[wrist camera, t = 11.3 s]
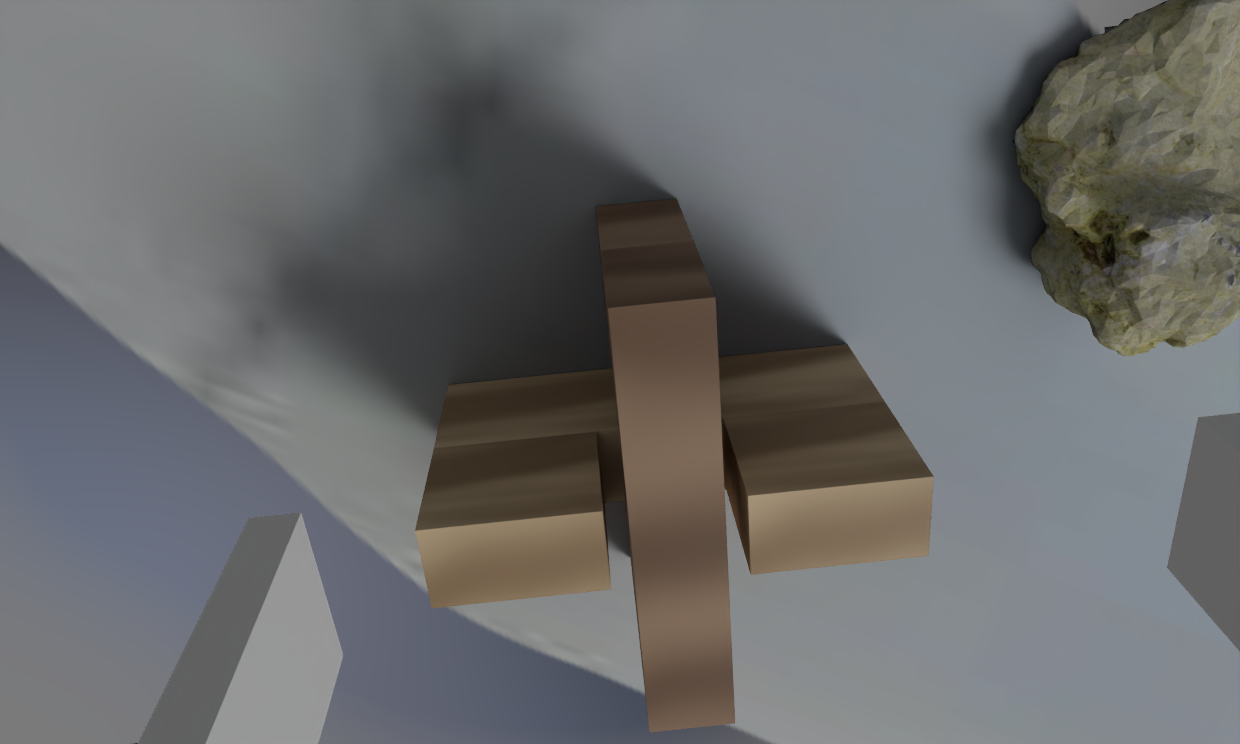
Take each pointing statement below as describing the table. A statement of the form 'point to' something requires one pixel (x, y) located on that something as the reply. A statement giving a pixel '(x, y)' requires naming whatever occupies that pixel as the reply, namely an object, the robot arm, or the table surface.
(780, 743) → the table surface
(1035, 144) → the rock
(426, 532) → the oak board
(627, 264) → the walnut plate
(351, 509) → the table surface
